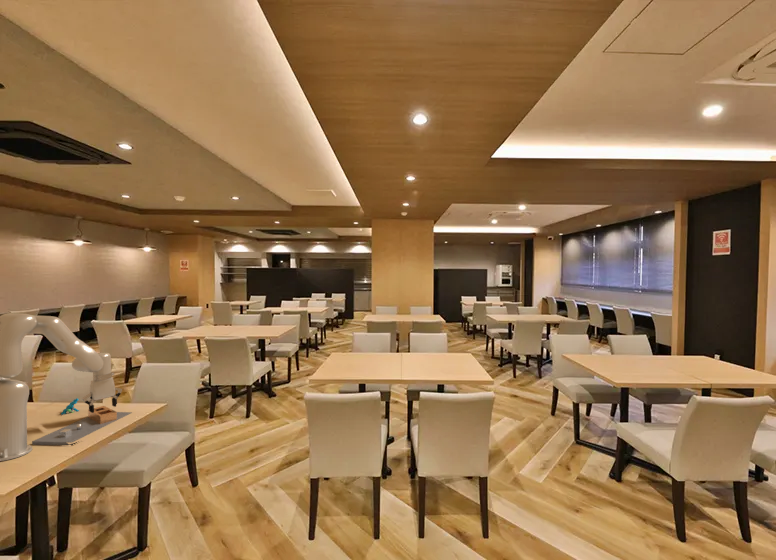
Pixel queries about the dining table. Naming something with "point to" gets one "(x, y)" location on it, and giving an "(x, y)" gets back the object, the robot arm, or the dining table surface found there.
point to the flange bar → (102, 415)
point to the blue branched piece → (70, 407)
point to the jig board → (74, 431)
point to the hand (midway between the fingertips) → (103, 409)
